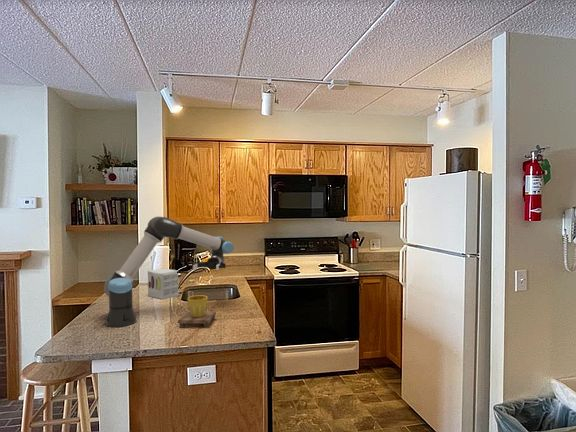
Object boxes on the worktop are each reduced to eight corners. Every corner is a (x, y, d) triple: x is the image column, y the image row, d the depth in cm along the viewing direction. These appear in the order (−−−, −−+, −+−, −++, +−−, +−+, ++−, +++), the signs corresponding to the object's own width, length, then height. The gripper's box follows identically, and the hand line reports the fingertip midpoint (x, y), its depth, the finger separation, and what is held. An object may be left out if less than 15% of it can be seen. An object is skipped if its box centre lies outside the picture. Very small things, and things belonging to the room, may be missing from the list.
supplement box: (147, 296, 266) (146, 270, 265) (163, 292, 277) (162, 268, 276) (163, 299, 256) (162, 273, 255) (179, 295, 267) (178, 270, 266)
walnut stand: (178, 327, 196) (177, 320, 196) (187, 318, 212) (187, 311, 212) (208, 327, 196) (208, 320, 196) (215, 318, 212) (215, 311, 212)
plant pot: (203, 318, 198) (202, 300, 198) (184, 318, 200) (184, 299, 200) (210, 313, 208) (210, 295, 208) (193, 312, 210) (192, 294, 210)
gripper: (233, 268, 240) (226, 274, 219) (194, 268, 241) (183, 274, 220) (233, 256, 240) (226, 261, 219) (194, 256, 241) (183, 261, 220)
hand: (205, 267), depth 220 cm, fingers open, 13 cm apart
